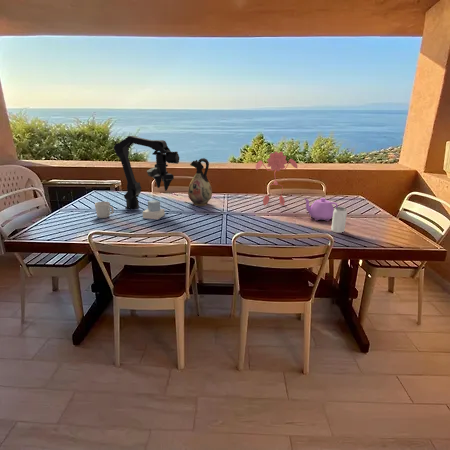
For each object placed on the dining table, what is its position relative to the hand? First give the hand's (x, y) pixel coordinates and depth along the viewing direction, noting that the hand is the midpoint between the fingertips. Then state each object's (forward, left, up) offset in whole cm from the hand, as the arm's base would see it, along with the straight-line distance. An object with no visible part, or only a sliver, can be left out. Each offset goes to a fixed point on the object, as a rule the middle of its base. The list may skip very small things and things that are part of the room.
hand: (162, 189), depth 205 cm
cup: (-24, -23, -13) cm, 36 cm away
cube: (+1, -13, -9) cm, 16 cm away
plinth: (0, -13, -13) cm, 19 cm away
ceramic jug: (+18, +20, -13) cm, 30 cm away
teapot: (+92, +11, -13) cm, 93 cm away
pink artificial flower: (+64, +30, -13) cm, 72 cm away
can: (+101, -9, -13) cm, 102 cm away
